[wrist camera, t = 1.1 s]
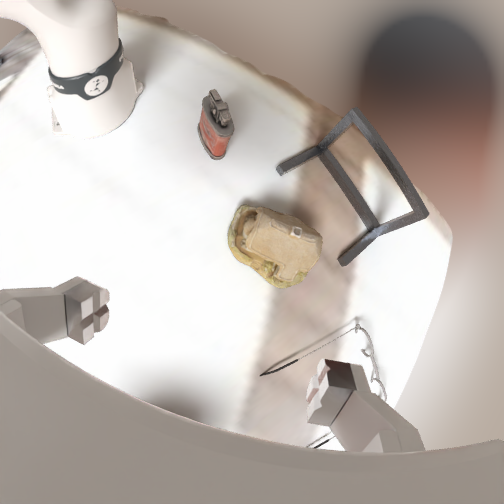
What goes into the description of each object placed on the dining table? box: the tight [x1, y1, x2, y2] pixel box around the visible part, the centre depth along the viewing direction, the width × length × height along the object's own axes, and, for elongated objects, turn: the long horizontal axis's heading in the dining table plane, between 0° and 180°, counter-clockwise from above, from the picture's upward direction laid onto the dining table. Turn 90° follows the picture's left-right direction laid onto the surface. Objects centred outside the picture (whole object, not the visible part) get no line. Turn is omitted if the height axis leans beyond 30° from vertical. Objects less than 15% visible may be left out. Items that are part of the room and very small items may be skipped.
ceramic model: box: [228, 205, 323, 288], centre depth 38 cm, size 14×11×10 cm
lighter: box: [198, 89, 234, 160], centre depth 39 cm, size 8×3×10 cm, turn 25°
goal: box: [276, 107, 429, 266], centre depth 41 cm, size 20×11×14 cm, turn 36°
